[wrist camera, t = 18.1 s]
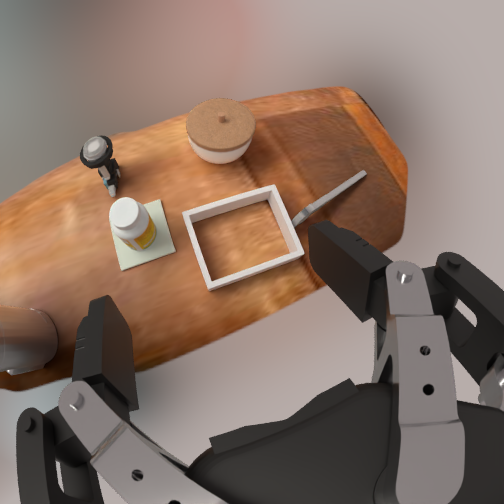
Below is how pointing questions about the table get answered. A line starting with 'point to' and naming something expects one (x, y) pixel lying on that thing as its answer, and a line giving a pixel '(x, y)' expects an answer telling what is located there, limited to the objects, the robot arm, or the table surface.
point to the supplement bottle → (132, 224)
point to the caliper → (325, 199)
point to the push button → (101, 161)
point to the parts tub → (239, 202)
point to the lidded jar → (220, 130)
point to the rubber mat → (156, 250)
